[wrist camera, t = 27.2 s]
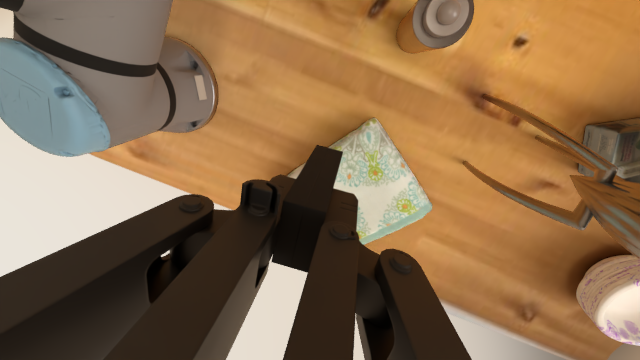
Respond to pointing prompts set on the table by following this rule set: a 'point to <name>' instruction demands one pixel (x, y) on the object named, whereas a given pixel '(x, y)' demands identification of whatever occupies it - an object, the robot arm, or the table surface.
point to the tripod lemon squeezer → (581, 186)
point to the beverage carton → (616, 146)
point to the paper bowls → (613, 297)
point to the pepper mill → (434, 24)
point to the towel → (377, 182)
